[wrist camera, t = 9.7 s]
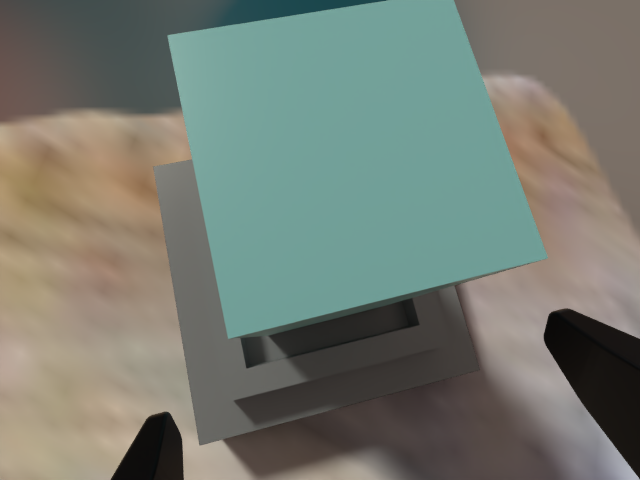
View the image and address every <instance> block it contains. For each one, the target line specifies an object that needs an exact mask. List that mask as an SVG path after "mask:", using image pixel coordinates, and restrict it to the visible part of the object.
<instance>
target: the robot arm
mask: <svg viewBox="0 0 640 480" xmlns="http://www.w3.org/2000/svg"><path fill="white" fill-rule="evenodd" d="M544 342H545V344H546V346H547V348H548V350H549V351H550V353H551V354H552V356H553V358H554V359H555V361H556V362H557V364H558V366H559V367H560V369H561V371H562V372H563V374H564V375H565V377H566V379H567V380H568V382H569V383H570V385H571V387H572V388H573V390H574V391H575V393H576V395H577V396H578V398H579V399H580V401H581V402H582V403H583V405H584V406H585V408H586V409H587V410H588V412H589V413H590V414H591V416H592V417H593V418H594V420H595V421H596V422H597V424H598V425H599V426H600V427H601V429H602V430H603V431H604V433H605V434H606V435H607V437H608V438H609V439H610V441H611V442H612V443H613V445H614V446H615V447H616V448H617V450H618V451H619V452H620V454H621V455H622V456H623V458H624V459H625V460H626V462H627V463H628V464H629V466H630V467H631V468H632V469H633V471H634V472H635V473H636V475H637V476H638V477H639V479H640V339H639V338H636V337H634V336H632V335H629V334H627V333H625V332H622V331H620V330H618V329H615V328H613V327H611V326H608V325H606V324H604V323H601V322H599V321H597V320H595V319H592V318H590V317H588V316H585V315H583V314H581V313H578V312H576V311H574V310H571V309H561V310H557V311H553V312H551V313H550V314H549V316H548V320H547V324H546V328H545V332H544ZM111 480H184V474H183V449H182V438H181V434H180V432H179V430H178V428H177V426H176V424H175V422H174V420H173V418H172V416H171V414H170V413H169V412H162V413H158V414H154V415H151V416H149V417H148V418H147V419H146V421H145V423H144V424H143V426H142V428H141V429H140V431H139V433H138V434H137V436H136V438H135V439H134V441H133V443H132V444H131V446H130V448H129V449H128V451H127V453H126V454H125V456H124V458H123V460H122V461H121V463H120V465H119V466H118V468H117V470H116V471H115V473H114V475H113V476H112V478H111Z"/></svg>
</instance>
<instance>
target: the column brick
mask: <svg viewBox="0 0 640 480" xmlns="http://www.w3.org/2000/svg"><path fill="white" fill-rule="evenodd" d="M168 40H169V45H170V50H171V55H172V60H173V65H174V70H175V75H176V80H177V85H178V90H179V95H180V100H181V105H182V110H183V115H184V120H185V125H186V130H187V135H188V140H189V145H190V150H191V155H192V160H193V165H194V170H195V175H196V180H197V185H198V190H199V195H200V200H201V205H202V210H203V215H204V220H205V225H206V230H207V235H208V240H209V245H210V250H211V255H212V260H213V265H214V270H215V275H216V281H217V286H218V291H219V296H220V301H221V306H222V311H223V316H224V321H225V326H226V331H227V336H228V339H234V338H246V337H258V336H269V335H273V334H277V333H281V332H284V331H288V330H292V329H296V328H300V327H304V326H308V325H312V324H316V323H320V322H324V321H328V320H332V319H336V318H339V317H343V316H347V315H351V314H355V313H359V312H363V311H367V310H371V309H375V308H379V307H382V306H386V305H389V304H393V303H396V302H400V301H403V300H406V299H410V298H413V297H417V296H420V295H424V294H427V293H430V292H434V291H437V290H441V289H444V288H448V287H451V286H454V285H458V284H461V283H465V282H468V281H472V280H475V279H478V278H482V277H485V276H489V275H492V274H496V273H499V272H503V271H506V270H509V269H513V268H516V267H520V266H523V265H527V264H530V263H533V262H537V261H540V260H544V259H547V258H548V257H547V254H546V251H545V249H544V246H543V243H542V240H541V238H540V235H539V232H538V230H537V227H536V224H535V221H534V219H533V216H532V213H531V210H530V208H529V205H528V202H527V199H526V197H525V194H524V191H523V189H522V186H521V183H520V180H519V178H518V175H517V172H516V169H515V167H514V164H513V161H512V158H511V156H510V153H509V150H508V148H507V145H506V142H505V139H504V137H503V134H502V131H501V128H500V126H499V123H498V120H497V118H496V115H495V112H494V109H493V107H492V104H491V101H490V98H489V96H488V93H487V90H486V87H485V85H484V82H483V79H482V77H481V74H480V71H479V68H478V66H477V63H476V60H475V58H474V55H473V52H472V50H471V47H470V44H469V41H468V38H467V36H466V33H465V30H464V27H463V25H462V22H461V19H460V16H459V14H458V11H457V8H456V6H455V3H454V0H389V1H382V2H376V3H370V4H363V5H357V6H352V7H345V8H338V9H332V10H325V11H319V12H313V13H306V14H300V15H294V16H288V17H281V18H274V19H268V20H262V21H256V22H249V23H244V24H237V25H230V26H224V27H217V28H212V29H205V30H198V31H192V32H186V33H179V34H173V35H168Z"/></svg>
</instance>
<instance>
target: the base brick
mask: <svg viewBox="0 0 640 480" xmlns="http://www.w3.org/2000/svg"><path fill="white" fill-rule="evenodd" d="M153 168H154V174H155V180H156V186H157V192H158V198H159V204H160V210H161V216H162V222H163V228H164V234H165V240H166V246H167V252H168V258H169V264H170V270H171V276H172V282H173V289H174V295H175V301H176V307H177V313H178V319H179V325H180V331H181V337H182V343H183V349H184V355H185V361H186V367H187V373H188V379H189V385H190V391H191V397H192V403H193V409H194V415H195V421H196V427H197V433H198V439H199V445H204V444H207V443H211V442H215V441H219V440H222V439H226V438H230V437H233V436H237V435H241V434H244V433H248V432H252V431H256V430H259V429H263V428H267V427H270V426H274V425H278V424H281V423H285V422H289V421H293V420H296V419H300V418H304V417H307V416H311V415H315V414H319V413H322V412H326V411H330V410H333V409H337V408H341V407H344V406H348V405H352V404H356V403H359V402H363V401H367V400H370V399H374V398H378V397H382V396H385V395H389V394H393V393H396V392H400V391H404V390H407V389H411V388H415V387H419V386H422V385H426V384H430V383H433V382H437V381H441V380H445V379H448V378H452V377H456V376H459V375H463V374H467V373H470V372H474V371H478V370H480V368H479V365H478V362H477V358H476V355H475V352H474V348H473V345H472V342H471V339H470V335H469V332H468V329H467V325H466V322H465V319H464V315H463V312H462V309H461V306H460V302H459V299H458V296H457V292H456V289H455V286H451V287H448V288H444V289H441V290H437V291H434V292H430V293H427V294H424V295H420V296H417V297H413V298H410V299H406V300H403V301H400V302H396V303H393V304H389V305H386V306H382V307H379V308H375V309H371V310H367V311H363V312H359V313H355V314H351V315H347V316H343V317H339V318H336V319H332V320H328V321H324V322H320V323H316V324H312V325H308V326H304V327H300V328H296V329H292V330H288V331H284V332H281V333H277V334H273V335H269V336H258V337H246V338H234V339H228V336H227V331H226V326H225V321H224V316H223V311H222V306H221V301H220V296H219V291H218V286H217V281H216V275H215V270H214V265H213V260H212V255H211V250H210V245H209V240H208V235H207V230H206V225H205V220H204V215H203V210H202V205H201V200H200V195H199V190H198V185H197V180H196V175H195V170H194V165H193V160H187V161H181V162H176V163H171V164H165V165H160V166H154V167H153Z"/></svg>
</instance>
